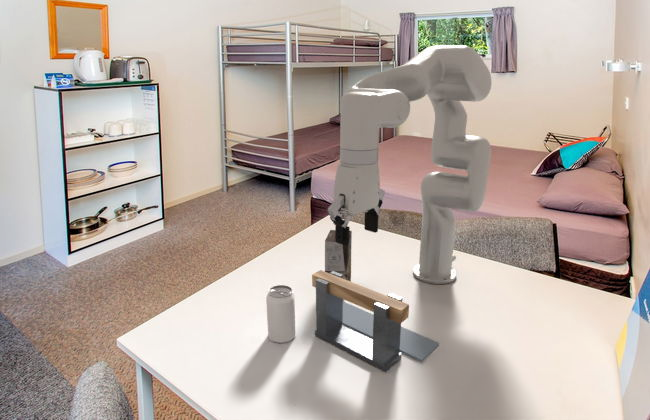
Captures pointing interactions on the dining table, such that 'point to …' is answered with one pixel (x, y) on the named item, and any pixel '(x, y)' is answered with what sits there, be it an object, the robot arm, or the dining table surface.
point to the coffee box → (338, 256)
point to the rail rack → (330, 329)
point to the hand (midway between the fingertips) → (357, 237)
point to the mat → (409, 340)
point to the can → (281, 314)
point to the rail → (362, 295)
